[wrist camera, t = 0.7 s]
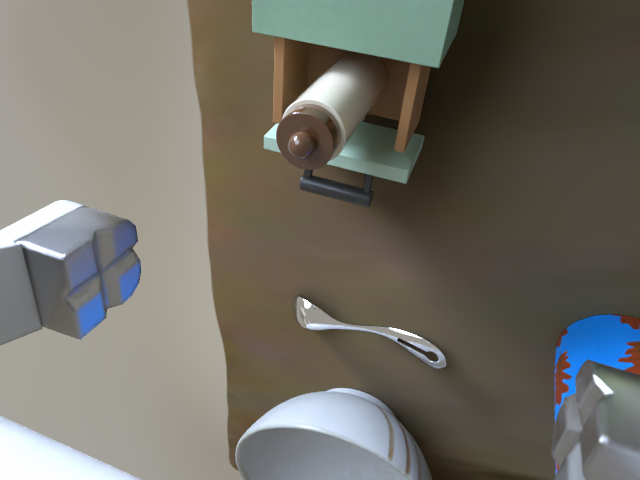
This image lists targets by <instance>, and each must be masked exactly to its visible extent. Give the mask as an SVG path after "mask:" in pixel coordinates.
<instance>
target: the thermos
mask: <svg viewBox="0 0 640 480" xmlns="http://www.w3.org/2000/svg"><path fill="white" fill-rule="evenodd" d="M587 359H588V360H591V361H595V362H598V363H601V364H605V365H608V366H612V367H615V368H618V369H622V370H625V371H628V372H632V373H635V374H638V375H640V319H638V318H634V317H628V316H623V315H617V314H612V315H596V316H592V317H588V318H585V319H582V320H579V321H576V322H575V323H573V324H572V325H571V326H569V327H568V328H566V329H565V330H564V331H563V332H562V334H561V335H560V337H559V339H558V341H557V343H556V358H555V421H556V418H557V414H558V412H559V409H560V407H561V405H562V403H563V401H564V399H565V397H568V396H570V395H572V394H575V393H576V383H575V377H576V375H577V373H578V371H579V369H580V368H581V366H582V365H583V364H584V362H585V361H586V360H587ZM559 468H560V467H559V466H558V464H557V463H556V473H557V472H558V470H559Z"/></svg>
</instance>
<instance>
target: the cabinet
mask: <svg viewBox="0 0 640 480" xmlns="http://www.w3.org/2000/svg"><path fill="white" fill-rule="evenodd" d="M463 4H464V0H252V32H256V33H261V34H266V35H271V36H276V37H281V38H287V39H292V40H297V41H302V42H307V43H312V44H317V45H322V46H328V47H333V48H338V49H343V50H348V51H353V52H358V53H363V54H368V55H374V56H379V57H384V58H389V59H394V60H399V61H404V62H409V63H415V64H420V65H425V66H430V67H435V68H439V67H440V65H441V63H442V61H443V59H444V57H445V55H446V53H447V51H448V49H449V47H450V45H451V44H452V42H453V40H454V38H455V36H456V34H457V30H458V26H459V21H460V17H461V13H462V9H463Z"/></svg>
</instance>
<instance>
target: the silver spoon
mask: <svg viewBox="0 0 640 480" xmlns="http://www.w3.org/2000/svg"><path fill="white" fill-rule="evenodd" d="M292 307H293V314H294V317H295V319H296V321H297V323H298V324H299V325H300V326H301V327H302V328H304V329H306V330H309V331H325V330H332V329H349V330H358V331H365V332H370V333H374V334H378V335H381V336H383V337H386V338H388V339H390V340H392V341H394V342H395V343H397V344H398V345H400V346H402V347H403V348H404V349H406V350H407V351H409V352H410V353H411V354H413V355H414V356H415V357H417V358H418V359H420V360H421V361H422V362H424V363H425V364H427V365H429V366H431V367H433V368H437V369H440V368H443V367H445V366H446V365H447V360H446V356H445V354H444V353H443V352H442V351H441V350H440V349H439V348H438V347H437V346H435V345H434V344H432V343H431V342H429V341H427V340H425V339H423V338H421V337H419V336H416V335H414V334H411V333H408V332H405V331H402V330H398V329H394V328H389V327H380V326H366V325H355V324H348V323H344V322H340V321H338V320H336V319H334V318H332V317H330V316H329V315H328V314H326V313H325V312H323V311H322V310H321V309H319V308H318V307H317V306H315V305H313V304H312V303H310V302H308V301H307V300H305V299H303V298H301V297H299V296H297V295H294V296H293V299H292ZM398 338H400V339H402V340H404V341H406V342H408V343H410V344H412V345H414V346H416V347H418V348H420V349H422V350H424V351H426V352H428V351H431V352H434V353H435V354H436V355H437V356H438V360H437V361H433V360H431V359H429V358H428V357H427V355H425V354H423V353H422V352H420V351H418V350H416V349H414V348H412V347H410V346H408V345H406V344H404V343H402V342H400V341H398Z"/></svg>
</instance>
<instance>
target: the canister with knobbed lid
mask: <svg viewBox="0 0 640 480" xmlns="http://www.w3.org/2000/svg"><path fill="white" fill-rule="evenodd" d="M386 84H387V72H386V69H385V66H384V64H383V62H382V61H381V60H380V58H379V57H378V56H374V55H368V54H363V53H358V52H353V51H348V52H346V53H344V54H343V55H342V56H341V57H340V58H339V59H338V60H337V61H336V62H335V63H334V64H333V65H331V66H330V67H329V68H328V69H327V70H326V71H325V72H324V73H323V74H322V75H321V76H320V77H319V78H318V79H317V80H316V81H315V82H314V83H313V84H312V85H311V86H310V87H309V88H307V89H306V90H305V91H304V92H303V93H302V94H301V95H300V96H299V97H298V98H297V99H296V100H295V101H294V102H293V103H292V104H291V105H290V106H289V107H288V108H287V109H286V111H285V113H284V115H283V118H282V120H281V122H280V123H279V125H278V127H277V131H276V141H277V145H278V148H279V150H280V152H281V154H282V155H283V156H284V158H285V159H286V160H287V161H288V162H290V163H291V164H293V165H294V166H296V167H298V168H301V169H306V170H314V169H318V168H321V167H323V166H324V165H326V164H327V163H328V162H329V161H331V160H333V159H334V158H336V157H337V156H338V155H339V154H340V153H341V151H342V150H343V149H344V147H345V146H346V144H347V143H348V141H349V140H350V139H351V137H352V136H353V134H354V133H355V132H356V130H357V129H358V127H359V126H360V124H361V123H362V122H363V120H364V119H365V117H366V116H367V114H368V113H369V112H370V110H371V109H372V107H373V106H374V105H375V103H376V102H377V100H378V99H379V97H380V96H381V95H382V93H383V92H384V90H385V87H386Z"/></svg>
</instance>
